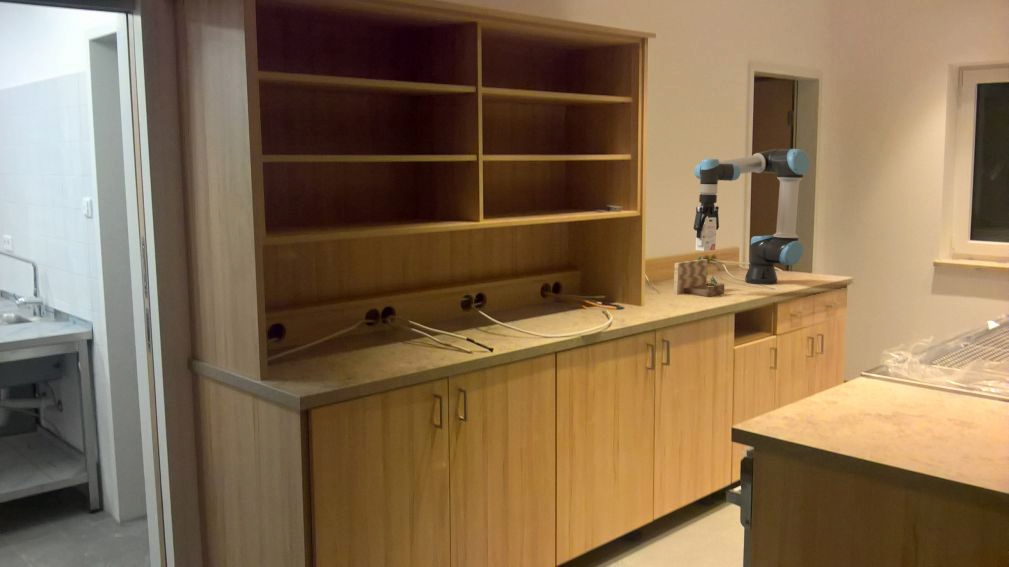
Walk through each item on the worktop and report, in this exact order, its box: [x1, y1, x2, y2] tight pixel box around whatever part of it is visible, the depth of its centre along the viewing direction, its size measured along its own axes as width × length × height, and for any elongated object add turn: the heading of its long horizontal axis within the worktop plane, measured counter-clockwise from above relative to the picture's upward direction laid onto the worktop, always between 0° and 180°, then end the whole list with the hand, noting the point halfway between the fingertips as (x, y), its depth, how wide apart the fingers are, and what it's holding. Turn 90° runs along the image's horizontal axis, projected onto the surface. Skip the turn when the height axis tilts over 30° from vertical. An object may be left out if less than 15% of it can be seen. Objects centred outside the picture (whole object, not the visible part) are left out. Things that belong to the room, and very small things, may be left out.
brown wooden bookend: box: [673, 258, 725, 298], centre depth 380 cm, size 22×15×14 cm
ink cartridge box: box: [695, 217, 717, 252], centre depth 377 cm, size 9×5×15 cm, turn 131°
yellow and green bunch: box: [697, 256, 718, 286], centre depth 407 cm, size 10×18×15 cm, turn 47°
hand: (705, 244), depth 378 cm, fingers closed on ink cartridge box, 9 cm apart
